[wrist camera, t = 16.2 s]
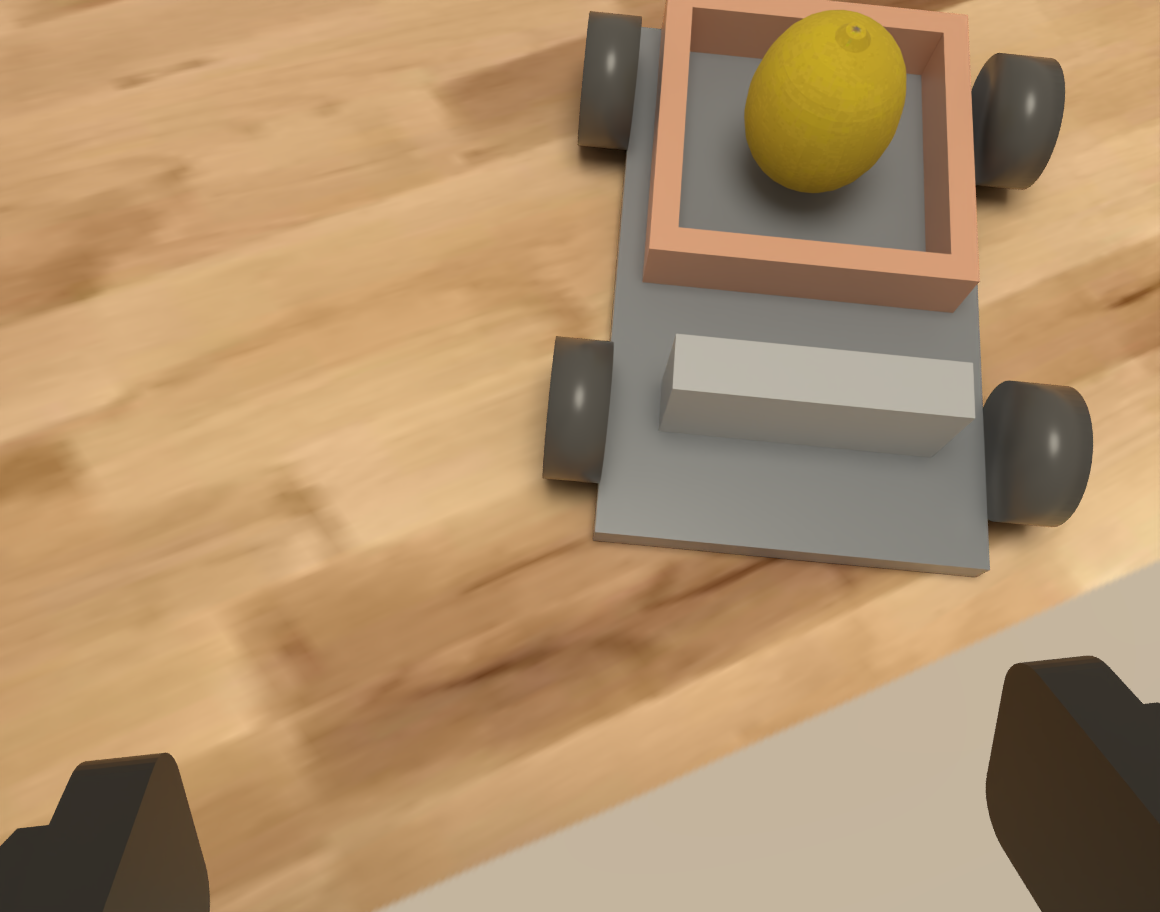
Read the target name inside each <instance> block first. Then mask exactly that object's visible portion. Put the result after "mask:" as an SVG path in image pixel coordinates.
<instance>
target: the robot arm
mask: <svg viewBox="0 0 1160 912" xmlns="http://www.w3.org/2000/svg"><path fill="white" fill-rule="evenodd" d="M986 799H987V806H988V810H989V816H990V819H991V822H992V825H993V829H994V831H995V834H996V836H997V838H998V841H999V843H1000V844H1001V846H1002V848H1003V850H1004V851H1005V853H1006V855H1007V856H1008V858H1009V859H1010V861H1011V863H1012V864H1013V866H1014V867H1015V869H1016V871H1017V872H1018V874H1019V876H1020V877H1021V879H1022V880H1023V882H1024V884H1025V885H1026V887H1027V889H1028V890H1029V892H1030V893H1031V895H1032V897H1033V898H1034V900H1035V902H1036V903H1037V905H1038V906H1039V908H1040V910H1041V911H1042V912H1160V703H1149V704H1143V703H1142V702H1141V701H1140V700H1139V699H1138V698H1137V697H1136V696H1135V695H1134V694H1133V693H1132V691H1131V690H1130V689H1129V688H1128V687H1127V686H1126V685H1125V684H1124V683H1123V682H1122V681H1121V679H1120V678H1119V677H1118V676H1117V675H1116V674H1115V673H1114V672H1113V671H1112V670H1111V669H1110V667H1108V666H1107V665H1106V664H1105V663H1104V662H1103V661H1102V660H1100V659H1099V658H1096V657H1093V656H1080V657H1072V658H1071V657H1070V658H1062V659H1052V660H1043V661H1034V662H1024V663H1018V664H1014V665H1013V666H1012V667H1011V668H1010V669H1009V670H1008V672H1007V674H1006V677H1005V681H1004V685H1003V691H1002V696H1001V701H1000V707H999V712H998V718H997V723H996V729H995V734H994V740H993V745H992V750H991V756H990V761H989V766H988V772H987V778H986ZM0 912H210V895H209V881H208V875H207V870H206V865H205V862H204V858H203V855H202V851H201V847H200V844H199V840H198V837H197V833H196V830H195V826H194V822H193V819H192V815H191V812H190V808H189V805H188V801H187V797H186V794H185V790H184V787H183V783H182V780H181V776H180V772H179V769H178V766H177V764H176V762H175V760H174V758H173V757H172V755H170V754H169V753H159V754H150V755H141V756H132V757H122V758H113V759H104V760H95V761H85V762H83V763H81V764H79V765H78V766H77V767H76V769H75V770H74V771H73V773H72V775H71V777H70V779H69V781H68V784H67V786H66V788H65V790H64V793H63V795H62V797H61V799H60V801H59V804H58V806H57V808H56V810H55V813H54V815H53V817H52V819H51V821H50V824H49V825H45V826H36V827H27V828H18V829H17V830H16V831H15V832H14V833H13V834H12V835H11V836H10V837H9V838H8V839H7V840H6V841H5V842H4V843H3V844H2V845H1V846H0Z"/></svg>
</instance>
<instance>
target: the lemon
mask: <svg viewBox="0 0 1160 912" xmlns="http://www.w3.org/2000/svg"><path fill="white" fill-rule="evenodd" d="M905 98H906V67H905V63H904V60H903V56H902V53H901V50H900V48H899V46H898V45H897V43H896V41H895V40H894V38H893V37H892V35H891V34H890V33H889V32H888V31H887V30H886V29H885V28H884V27H883V26H882V25H881V24H880V23H878V22H876V21H875V20H873V19H872V18H870V17H868V16H866V15H863V14H861V13H858V12H853V11H848V10H826V11H822V12H818V13H815V14H811V15H809V16H807V17H805V18H803V19H802V20H800V21H798V22H796V23H794V24H793V25H792V26H790V27H789V28H788V29H787V30H786V31H785V32H784V33H783V34H782V35H781V36H780V37H778V39H777V40H776V41H775V42H774V43H773V44H772V45H771V47H770V48H769V49H768V51H767V52H766V54H765V55H764V57H763V59H762V61H761V63H760V64H759V66H758V68H757V70H756V72H755V73H754V75H753V78H752V80H751V83H750V87H749V90H748V95H747V100H746V104H745V110H744V121H745V134H746V140H747V143H748V146H749V148H750V151H751V154H752V156H753V158H754V159H755V161H756V162H757V164H758V165H759V167H760V168H761V169H762V171H763V172H764V173H765V174H766V175H768V176H769V177H770V178H771V179H772V180H773V181H775V182H777V183H778V184H780V185H782V186H784V187H786V188H788V189H792V190H795V191H799V192H805V193H821V192H827V191H833V190H836V189H838V188H841V187H843V186H845V185H848V184H850V183H852V182H854V181H855V180H856V179H858V178H859V177H860V176H861V175H863V174H864V173H865V172H867V171H868V170H869V169H870V168H871V167H872V166H873V165H874V164H875V163H876V162H877V161H878V159H879V158H880V157H881V155H882V154H883V153H884V151H885V150H886V148H887V147H888V145H889V144H890V142H891V141H892V139H893V137H894V135H895V133H896V130H897V127H898V124H899V121H900V118H901V115H902V111H903V108H904V104H905Z"/></svg>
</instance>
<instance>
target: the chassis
mask: <svg viewBox="0 0 1160 912" xmlns="http://www.w3.org/2000/svg"><path fill="white" fill-rule="evenodd" d="M826 10H848V11H853V12H858V13H861V14H863V15H866V16H868V17H870V18H872V19H873V20H875V21H876V22H878V23H880V24H881V25H882V26H883V27H884V28H885V29H886V30H887V31H888V32H889V33H890V34H891V35H892V37H893V38H894V40H895V41H896V43H897V45H898V46H899V48H900V50H901V53H902V56H903V60H904V63H905V67H906V98H905V104H904V108H903V111H902V115H901V118H900V121H899V124H898V127H897V130H896V133H895V135H894V137H893V139H892V141H891V142H890V144H889V145H888V147H887V148H886V150H885V151H884V153H883V154H882V155H881V157H880V158H879V159H878V161H877V162H876V163H875V164H874V165H873V166H872V167H871V168H870V169H869V170H868V171H867V172H865V173H864V174H863V175H861V176H860V177H859V178H858V179H856V180H855V181H854V182H852V183H850V184H848V185H845V186H843V187H841V188H838V189H836V190H833V191H827V192H821V193H805V192H799V191H795V190H792V189H788V188H786V187H784V186H782V185H780V184H778V183H777V182H775V181H773V180H772V179H771V178H770V177H769V176H768V175H766V174H765V173H764V172H763V171H762V169H761V168H760V167H759V165H758V164H757V162H756V161H755V159H754V158H753V156H752V154H751V151H750V148H749V146H748V143H747V140H746V134H745V121H744V110H745V104H746V100H747V95H748V90H749V87H750V83H751V80H752V78H753V75H754V73H755V72H756V70H757V68H758V66H759V64H760V63H761V61H762V59H763V57H764V55H765V54H766V52H767V51H768V49H769V48H770V47H771V45H772V44H773V43H774V42H775V41H776V40H777V39H778V37H780V36H781V35H782V34H783V33H784V32H785V31H786V30H787V29H788V28H789V27H790V26H792V25H793V24H794V23H796V22H798V21H800V20H802V19H803V18H805V17H807V16H809V15H811V14H815V13H818V12H822V11H826ZM641 24H642V16H632V15H623V14H613V13H603V12H593V11H590V13H589V21H588V29H587V39H586V49H585V59H584V70H583V81H582V92H581V104H580V116H579V129H578V145H580V146H590V147H600V148H610V149H620V150H626V160H625V172H624V183H623V195H622V207H621V218H620V230H619V242H618V253H617V265H616V277H615V288H614V300H613V312H612V323H611V335H610V341H601V340H590V339H580V338H570V337H560V336H556V340H555V347H554V355H553V364H552V373H551V382H550V392H549V402H548V413H547V423H546V435H545V447H544V460H543V478H547V479H558V480H568V481H578V482H589V483H598V487H597V499H596V510H595V522H594V534H593V540H594V541H604V542H615V543H625V544H636V545H646V546H657V547H667V548H678V549H688V550H699V551H709V552H719V553H730V554H740V555H751V556H761V557H772V558H782V559H793V560H803V561H813V562H824V563H834V564H845V565H855V566H866V567H876V568H887V569H897V570H907V571H918V572H928V573H939V574H949V575H960V576H970V577H977V576H979V575H981V574H983V573H985V572H987V571H989V570H990V563H989V540H988V520H990V521H994V522H1004V523H1014V524H1024V525H1035V526H1045V527H1057V526H1059V525H1061V524H1063V523H1064V522H1066V521H1067V520H1068V519H1069V518H1070V517H1071V515H1072V514H1073V513H1074V512H1075V510H1076V508H1077V507H1078V505H1079V503H1080V501H1081V499H1082V497H1083V494H1084V492H1085V489H1086V486H1087V482H1088V479H1089V474H1090V470H1091V463H1092V454H1093V431H1092V423H1091V418H1090V414H1089V411H1088V407H1087V405H1086V403H1085V401H1084V399H1083V397H1082V396H1081V395H1080V393H1079V392H1078V391H1077V390H1075V389H1074V388H1072V387H1068V386H1059V385H1049V384H1039V383H1029V382H1018V381H1005V382H1003V383H1001V384H999V385H998V386H997V387H996V388H995V389H994V390H993V391H992V393H991V394H990V396H989V397H988V399H987V401H986V403H985V405H984V407H983V401H982V378H981V355H980V332H979V309H978V286H977V284H978V283H979V282H980V279H979V256H978V233H977V210H976V188H975V185H978V186H988V187H998V188H1008V189H1018V190H1023V189H1027V188H1028V187H1030V186H1031V185H1032V184H1034V182H1035V181H1036V180H1037V179H1038V178H1039V176H1040V175H1041V174H1042V172H1043V170H1044V169H1045V167H1046V165H1047V163H1048V161H1049V159H1050V157H1051V155H1052V152H1053V150H1054V147H1055V144H1056V141H1057V138H1058V135H1059V131H1060V127H1061V122H1062V117H1063V111H1064V102H1065V82H1064V75H1063V71H1062V68H1061V66H1060V64H1059V63H1058V62H1057V61H1056V60H1055V59H1053V58H1044V57H1034V56H1024V55H1014V54H1005V53H997V54H995V55H993V56H992V57H991V58H990V59H989V60H988V61H987V62H986V63H985V65H984V66H983V68H982V69H981V71H980V73H979V75H978V77H977V79H976V81H975V83H974V86H973V88H972V91H971V74H970V52H969V29H968V15H964V14H954V13H944V12H934V11H925V10H915V9H905V8H895V7H886V6H876V5H866V4H856V3H847V2H837V1H827V0H666V5H665V11H664V17H663V23H662V29H655V28H645V27H641Z"/></svg>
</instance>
